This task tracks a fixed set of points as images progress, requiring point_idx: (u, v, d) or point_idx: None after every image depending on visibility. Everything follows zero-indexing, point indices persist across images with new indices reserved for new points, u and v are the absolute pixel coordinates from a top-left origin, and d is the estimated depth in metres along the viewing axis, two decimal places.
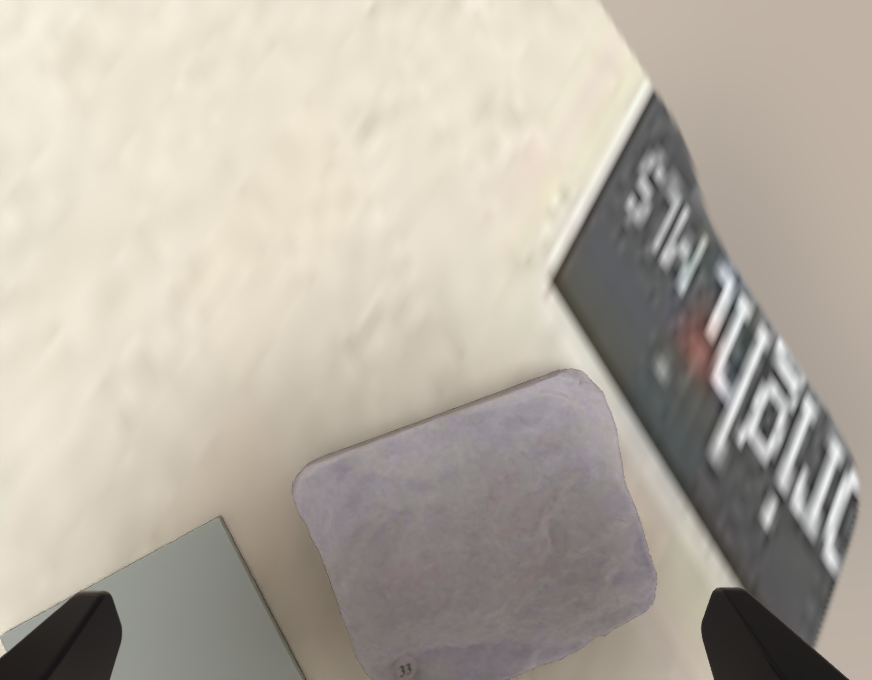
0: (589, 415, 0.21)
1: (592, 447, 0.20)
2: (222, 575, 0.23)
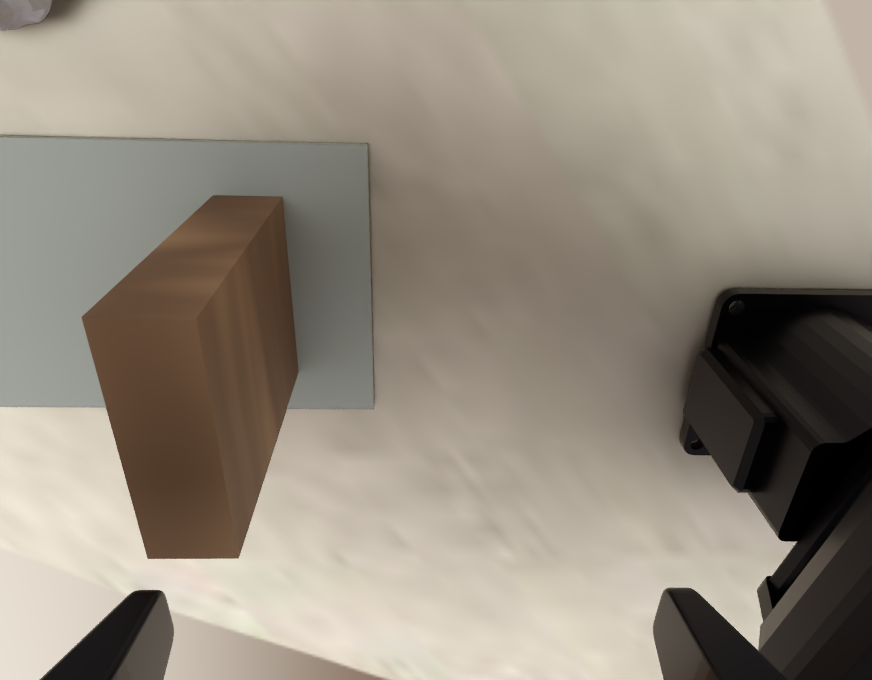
0: None
1: None
2: None
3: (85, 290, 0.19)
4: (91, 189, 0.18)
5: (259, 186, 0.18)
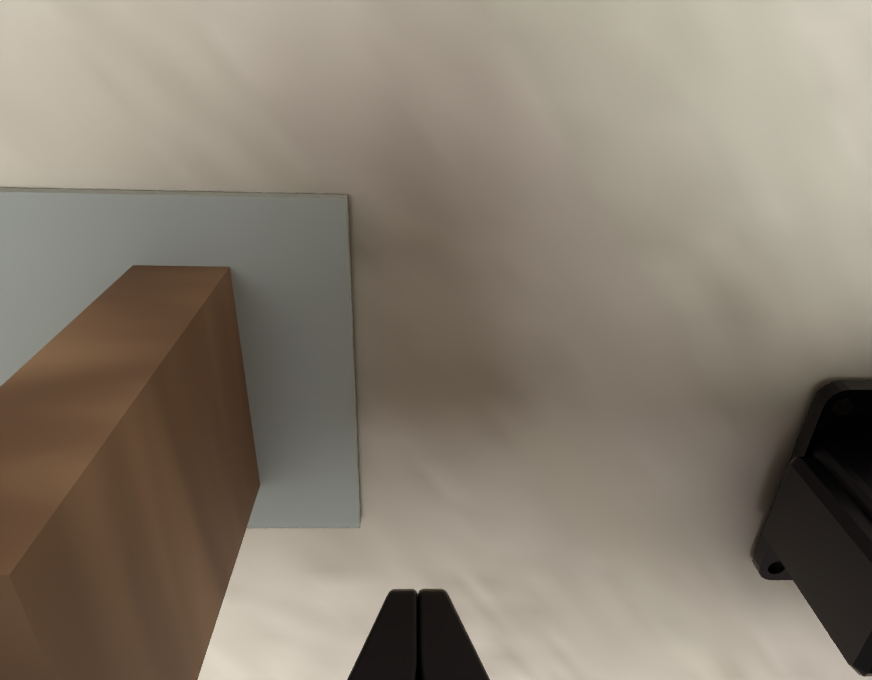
0: None
1: None
2: None
3: None
4: None
5: (196, 252, 0.13)
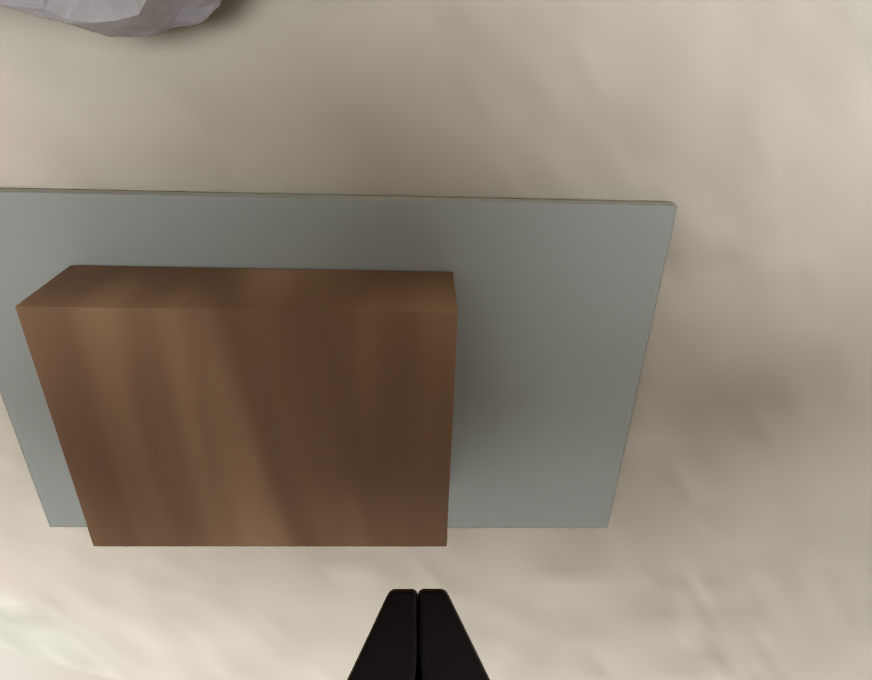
0: None
1: None
2: (42, 233, 0.13)
3: None
4: (293, 263, 0.13)
5: (519, 258, 0.13)
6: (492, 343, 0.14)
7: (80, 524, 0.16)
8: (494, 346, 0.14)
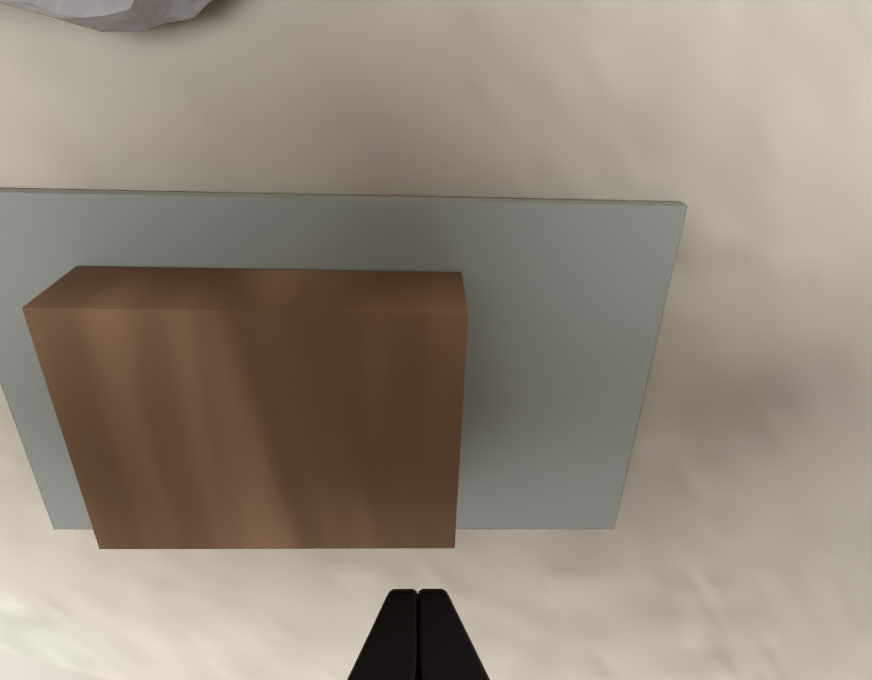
0: None
1: None
2: (48, 234, 0.12)
3: None
4: (300, 264, 0.13)
5: (528, 259, 0.13)
6: (500, 343, 0.14)
7: (84, 527, 0.16)
8: (502, 347, 0.14)
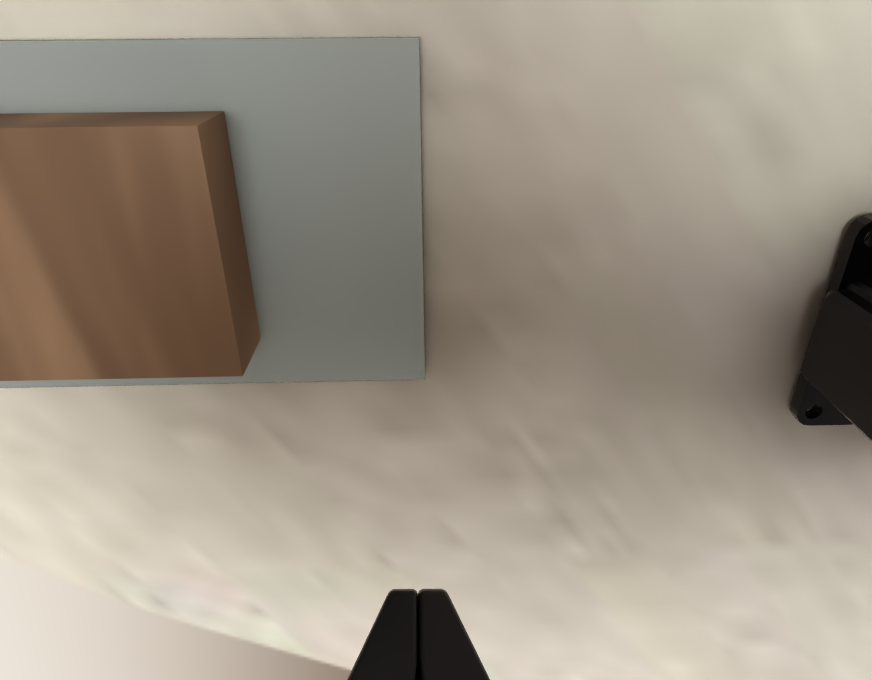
0: None
1: None
2: None
3: None
4: (77, 107, 0.14)
5: (284, 96, 0.14)
6: (276, 185, 0.15)
7: None
8: (279, 188, 0.15)
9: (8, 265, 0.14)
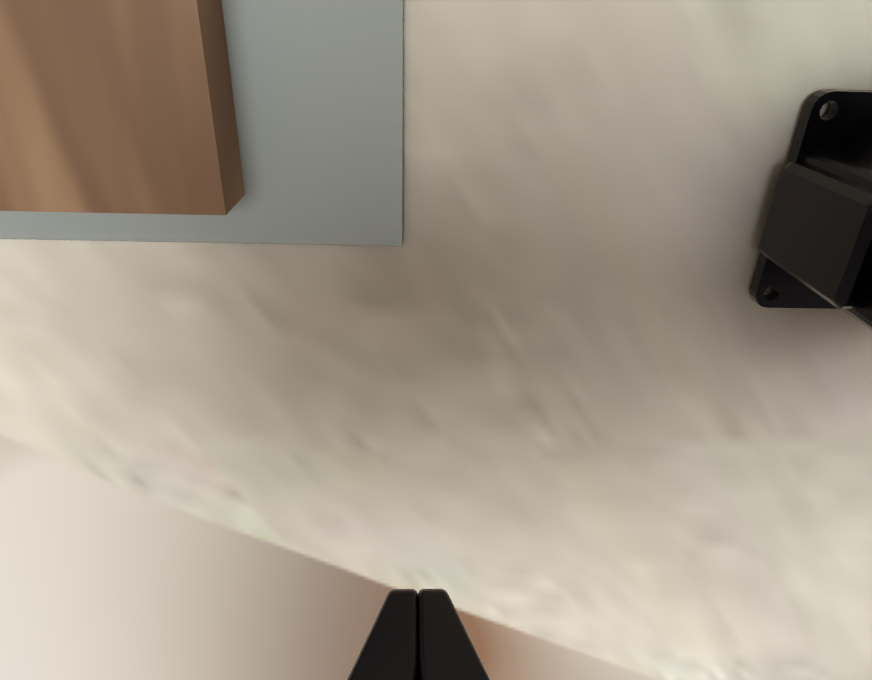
0: None
1: None
2: None
3: None
4: None
5: None
6: (264, 32, 0.16)
7: None
8: (266, 36, 0.16)
9: (3, 84, 0.14)
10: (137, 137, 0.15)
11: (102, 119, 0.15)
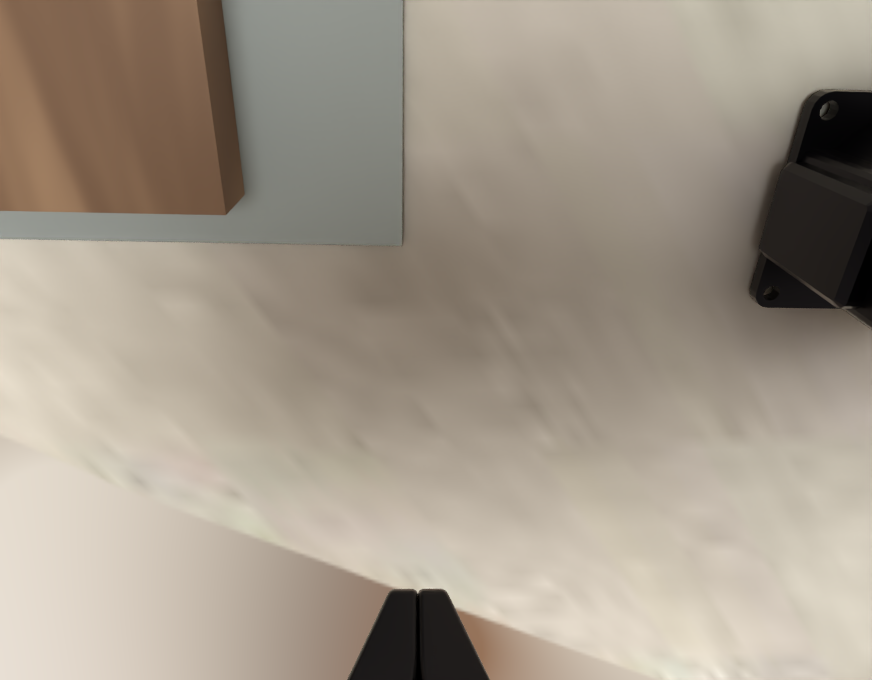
0: None
1: None
2: None
3: None
4: None
5: None
6: (264, 32, 0.16)
7: None
8: (266, 36, 0.16)
9: (3, 84, 0.14)
10: (137, 137, 0.15)
11: (102, 119, 0.15)
